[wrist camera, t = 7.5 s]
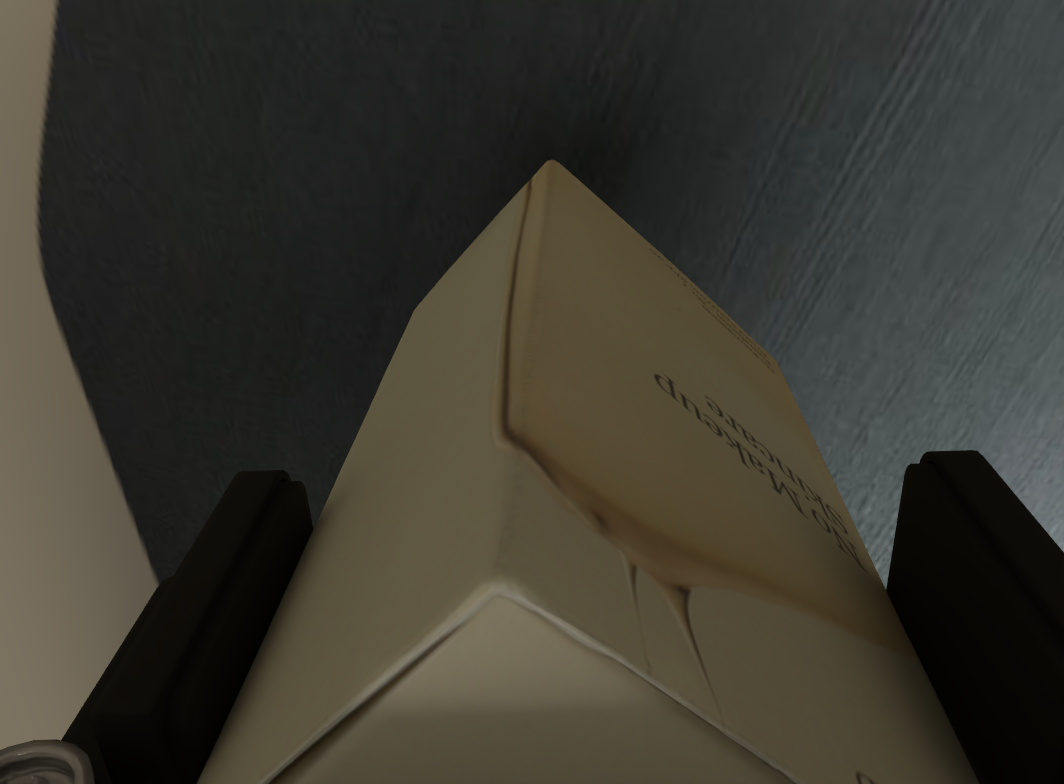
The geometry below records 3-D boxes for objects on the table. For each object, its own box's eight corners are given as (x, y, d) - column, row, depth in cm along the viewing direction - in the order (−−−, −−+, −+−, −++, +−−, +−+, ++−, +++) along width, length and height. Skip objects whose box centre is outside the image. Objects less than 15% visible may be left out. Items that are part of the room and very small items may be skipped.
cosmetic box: (780, 358, 18) (1147, 1016, 7) (623, 499, 19) (717, 1223, 8) (540, 143, 16) (514, 562, 5) (390, 317, 17) (116, 929, 6)
